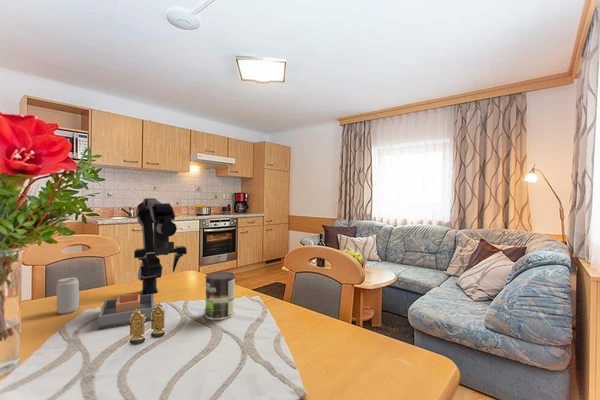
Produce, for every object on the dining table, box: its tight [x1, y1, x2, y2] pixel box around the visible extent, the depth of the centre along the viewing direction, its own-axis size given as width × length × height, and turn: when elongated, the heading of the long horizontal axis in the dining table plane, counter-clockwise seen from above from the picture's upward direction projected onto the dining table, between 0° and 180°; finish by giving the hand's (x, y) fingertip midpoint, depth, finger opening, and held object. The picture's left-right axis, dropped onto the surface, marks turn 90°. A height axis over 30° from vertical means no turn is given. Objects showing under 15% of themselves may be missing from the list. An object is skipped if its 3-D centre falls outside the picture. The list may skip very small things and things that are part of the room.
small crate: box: [116, 292, 141, 313], centre depth 103 cm, size 10×7×5 cm
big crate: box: [97, 293, 155, 331], centre depth 103 cm, size 18×16×4 cm
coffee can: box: [204, 271, 236, 321], centre depth 103 cm, size 10×10×14 cm
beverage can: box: [56, 277, 80, 315], centre depth 106 cm, size 6×6×12 cm
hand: (161, 273), depth 116 cm, fingers open, 9 cm apart
